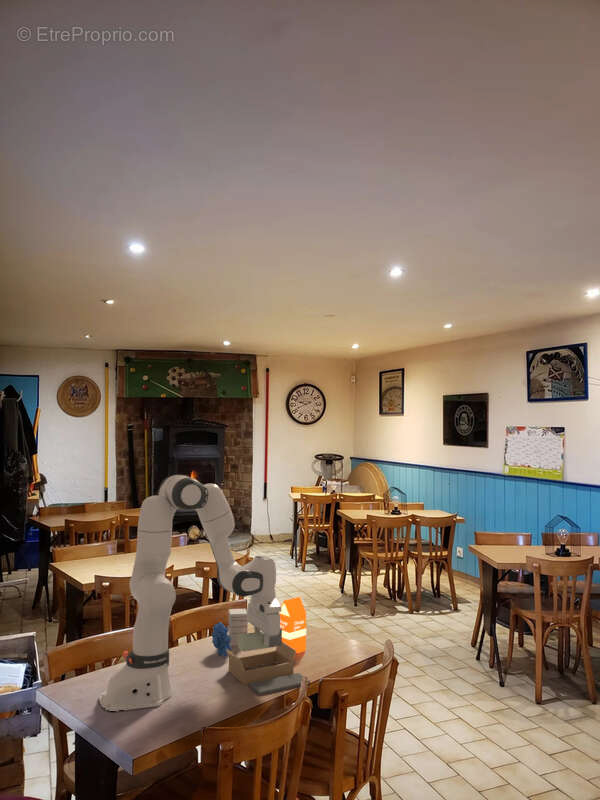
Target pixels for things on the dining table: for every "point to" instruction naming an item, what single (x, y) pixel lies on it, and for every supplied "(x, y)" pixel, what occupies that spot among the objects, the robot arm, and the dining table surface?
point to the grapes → (221, 639)
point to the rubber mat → (277, 684)
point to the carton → (280, 656)
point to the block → (258, 641)
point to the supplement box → (237, 624)
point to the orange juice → (293, 624)
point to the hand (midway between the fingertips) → (261, 641)
